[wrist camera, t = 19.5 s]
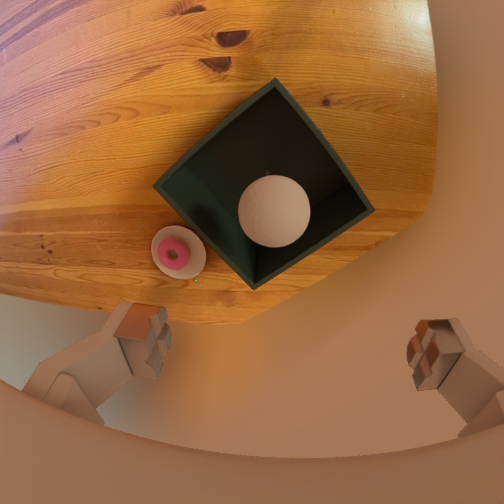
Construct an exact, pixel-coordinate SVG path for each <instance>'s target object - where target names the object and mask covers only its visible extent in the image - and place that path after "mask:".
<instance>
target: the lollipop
mask: <svg viewBox="0 0 504 504" xmlns="http://www.w3.org/2000/svg"><path fill="white" fill-rule="evenodd" d="M238 215H239V221H240V224H241V227H242V229H243V230H244V232H245V234H246V235H247V236H248V237H249V238H250V239H252V240H253V241H254V242H256V243H258V244H260V245H263V246H267V247H282V246H286V245H289V244H291V243H293V242H294V241H295V240H297V239H298V238H299V237H300V236H301V235H302V234H303V233H304V231H305V230H306V228H307V225H308V223H309V219H310V204H309V200H308V197H307V195H306V193H305V191H304V190H303V188H302V187H301V186H300V185H299V184H298V183H296V182H295V181H294V180H292V179H290V178H287V177H284V176H278V175H271V176H270V170H269V169H266V176H265V177H262V178H259V179H258V180H256V181H254V182H253V183H251V184H250V185H249V186H248V187H247V188H246V190H245V191H244V192H243V194H242V196H241V198H240V202H239V206H238Z"/></svg>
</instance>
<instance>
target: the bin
mask: <svg viewBox="0 0 504 504" xmlns="http://www.w3.org/2000/svg"><path fill="white" fill-rule="evenodd" d="M266 169H269V170H270V176H271V175H278V176H284V177H287V178H290V179H292V180H294V181H295V182H296V183H298V184H299V185H300V186H301V187H302V188H303V190H304V191H305V193H306V195H307V197H308V200H309V204H310V219H309V223H308V225H307V228H306V230H305V231H304V233H303V234H302V235H301V236H300V237H299V238H298V239H297V240H295V241H294V242H293V243H291V244H289V245H286V246H282V247H267V246H263V245H260V244H258V243H256V242H254V241H253V240H252V239H250V238H249V237H248V236H247V235H246V234H245V232H244V230H243V229H242V227H241V224H240V221H239V215H238V206H239V202H240V198H241V196H242V194H243V192H244V191H245V190H246V188H247V187H248V186H249V185H250V184H251V183H253V182H254V181H256V180H258V179H259V178H262V177H265V176H266ZM153 188H154V189H155V190H156V191H157V192H158V193H159V194H160V195H161V196H162V197H163V198H164V199H165V200H166V201H167V202H168V203H169V204H170V205H171V207H172V208H173V209H174V210H175V211H176V212H177V213H178V214H179V215H180V216H181V217H182V218H183V219H184V220H185V221H186V222H187V223H188V224H189V225H190V226H191V227H192V228H193V229H194V230H195V232H196V233H197V234H198V235H199V236H200V237H201V238H202V239H203V240H204V241H205V242H206V243H207V244H208V245H209V246H210V247H211V248H212V249H213V250H214V251H215V252H216V253H217V254H218V255H219V256H220V257H221V258H222V259H223V260H224V261H225V262H226V263H227V264H228V265H229V266H230V267H231V268H232V269H233V270H234V271H235V272H236V273H237V274H238V275H239V276H240V277H241V278H242V279H243V280H244V281H245V282H246V283H247V284H248V285H249V286H250V287H251V288H252V289H253V290H255V289H257V288H258V287H260V286H261V285H263V284H265V283H266V282H268V281H269V280H271V279H272V278H274V277H276V276H277V275H279V274H280V273H282V272H283V271H285V270H287V269H288V268H290V267H291V266H293V265H294V264H296V263H297V262H299V261H300V260H302V259H304V258H305V257H307V256H308V255H310V254H311V253H313V252H314V251H316V250H317V249H319V248H320V247H322V246H323V245H325V244H326V243H328V242H330V241H331V240H333V239H334V238H336V237H337V236H339V235H340V234H342V233H343V232H345V231H346V230H348V229H349V228H350V227H352V226H353V225H355V224H356V223H358V222H359V221H361V220H362V219H364V218H365V217H367V216H368V215H370V214H371V213H373V212H374V211H375V209H374V208H373V206H372V204H371V203H370V201H369V200H368V198H367V197H366V195H365V194H364V192H363V191H362V189H361V187H360V186H359V184H358V183H357V181H356V180H355V179H354V177H353V176H352V174H351V173H350V171H349V170H348V168H347V167H346V165H345V164H344V163H343V161H342V160H341V158H340V157H339V156H338V154H337V153H336V151H335V150H334V149H333V147H332V146H331V145H330V143H329V142H328V141H327V139H326V138H325V137H324V135H323V134H322V133H321V131H320V130H319V129H318V128H317V126H316V125H315V124H314V122H313V121H312V120H311V119H310V117H309V116H308V115H307V114H306V112H305V111H304V110H303V109H302V108H301V106H300V105H299V104H298V103H297V101H296V100H295V99H294V98H293V97H292V96H291V94H290V93H289V92H288V91H287V90H286V89H285V87H284V86H283V85H282V84H281V83H280V82H279V81H278V79H277V78H274V79H273V80H271V81H270V82H269V83H267V84H266V85H265V86H264V87H262V88H261V89H260V90H258V91H257V92H256V93H255V94H253V95H252V96H251V97H249V98H248V99H247V100H246V101H245V102H243V103H242V104H241V105H240V106H238V107H237V108H236V109H235V110H234V111H232V112H231V113H230V114H229V115H228V116H226V117H225V118H224V119H223V120H222V121H221V122H219V123H218V124H217V125H216V126H215V127H214V128H212V129H211V130H210V131H209V132H208V133H207V134H206V135H205V136H203V137H202V138H201V139H200V140H199V141H198V142H197V143H196V144H195V145H194V146H192V147H191V148H190V149H189V150H188V151H187V152H186V153H185V154H184V155H183V156H182V157H181V158H180V159H179V160H178V161H177V162H176V163H175V164H174V165H172V166H171V167H170V168H169V169H168V170H167V171H166V172H165V173H164V174H163V175H162V176H161V177H160V178H159V179H158V180H157V181H156V182H155V183H154V185H153Z"/></svg>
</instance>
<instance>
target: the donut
mask: <svg viewBox="0 0 504 504" xmlns="http://www.w3.org/2000/svg"><path fill="white" fill-rule="evenodd" d="M151 253H152V257H153V259H154V262H155V263H156V265H157V266H158V268H159V269H160V270H161V271H162V272H164V273H165V274H166V275H168V276H170V277H173V278H176V279H189V278H193V277H195V276H196V275H198V274H199V273H200V272H201V271H202V269H203V268H204V265H205V262H206V251H205V247H204V245H203V243H202V241H201V240H200V238H199V237H198V236H197V235H196V234H195V233H194V232H192V231H191V230H189V229H187V228H185V227H182V226H175V225H173V226H167V227H164V228H162V229H161V230H159V231H158V232H157V233H156V234H155V236H154V238H153V240H152V244H151ZM195 281H196V282H197V279H196V280H195ZM200 285H201V284H200ZM201 287H202V286H201ZM202 288H203V287H202Z"/></svg>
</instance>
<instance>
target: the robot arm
mask: <svg viewBox="0 0 504 504" xmlns="http://www.w3.org/2000/svg"><path fill="white" fill-rule="evenodd" d="M166 319H167V313H166V309H165V308H164V307H160V306H154V305H147V304H141V303H133V302H127V301H121V302H119V303H118V304H117V306H116V307H115V309H114V310H113V312H112V313H111V315H110V316H109V318H108V319H107V321H106V322H105V324H104V326H103V327H102V329H101V330H100V332H99V333H93V334H91V335H89V336H88V337H86V338H84V339H82V340H80V341H78V342H77V343H75V344H73V345H71V346H70V347H68V348H66V349H64V350H62V351H61V352H59V353H57V354H55V355H53V356H51V357H50V358H48V359H46V360H44V361H42V362H41V363H39V365H38V367H37V368H36V369H35V371H34V372H33V374H32V376H31V377H30V379H29V380H28V382H27V383H26V385H25V387H24V388H23V390H22V391H20V390H18V389H16V388H14V387H13V386H11V385H9V384H7V383H5V382H4V381H2V380H0V504H504V368H503V367H501V366H500V365H499V364H497V363H496V362H495V361H493V360H492V359H491V358H489V357H488V356H487V355H486V354H484V353H483V352H481V351H480V350H478V351H477V350H476V348H475V347H474V344H473V343H472V341H471V339H470V337H469V335H468V334H467V332H466V330H465V328H464V327H463V325H462V323H461V322H460V320H459V319H457V318H450V319H434V320H421V321H420V322H419V323H418V324H417V326H416V328H415V330H416V333H417V334H416V335H415V336H413V337H412V338H411V340H410V341H409V344H408V346H407V361H408V364H409V366H410V367H411V368H413V369H414V373H413V375H412V376H413V379H414V383H415V386H416V389H417V391H422V390H432V389H438V391H439V392H440V394H441V395H442V396H443V397H444V398H445V399H446V400H447V401H448V402H449V404H450V405H451V406H452V407H453V408H454V409H455V410H456V411H457V412H458V414H459V415H460V416H461V417H462V418H463V419H464V420H465V422H466V423H467V425H466V426H465V427H464V428H463V429H462V430H461V431H460V433H459V434H458V437H459V438H457V439H453V440H449V441H445V442H441V443H437V444H432V445H428V446H423V447H419V448H412V449H407V450H401V451H395V452H388V453H381V454H372V455H362V456H351V457H336V458H335V457H334V458H274V457H257V456H246V455H236V454H227V453H219V452H212V451H205V450H199V449H193V448H188V447H182V446H177V445H173V444H168V443H163V442H159V441H155V440H151V439H146V438H143V437H139V436H135V435H132V434H128V433H125V432H121V431H118V430H115V429H112V428H109V427H106V426H103V425H104V421H103V419H102V417H101V416H100V415H99V413H98V412H97V411H96V408H97V407H98V406H99V405H100V404H101V403H103V402H104V401H105V400H107V399H108V398H109V397H110V396H111V395H113V394H114V393H115V392H116V391H118V390H119V389H120V388H121V387H122V386H123V385H124V384H126V383H127V382H128V381H130V380H131V379H132V378H133V376H135V377H141V378H146V379H152V380H158V377H159V374H160V372H161V369H162V367H163V362H162V359H161V358H163V357H164V356H166V355H167V354H168V351H169V349H170V343H171V331H170V327H169V326H168V325H167V324H166V323H165V321H166Z"/></svg>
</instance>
